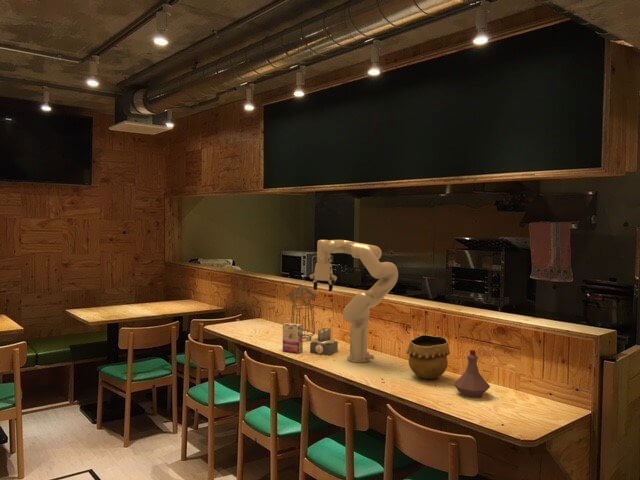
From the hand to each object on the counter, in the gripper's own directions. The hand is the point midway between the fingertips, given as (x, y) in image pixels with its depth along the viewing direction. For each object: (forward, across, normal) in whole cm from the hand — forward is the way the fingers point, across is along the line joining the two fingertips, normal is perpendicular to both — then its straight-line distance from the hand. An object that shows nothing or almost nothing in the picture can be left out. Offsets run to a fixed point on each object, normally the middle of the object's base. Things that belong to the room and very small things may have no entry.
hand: (322, 290), depth 307 cm
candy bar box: (+36, +15, +8) cm, 40 cm away
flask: (+36, -92, +32) cm, 104 cm away
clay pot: (+36, -68, +18) cm, 79 cm away
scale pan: (+30, -1, -1) cm, 30 cm away
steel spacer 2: (+29, -1, -4) cm, 29 cm away
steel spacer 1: (+29, -1, +2) cm, 29 cm away
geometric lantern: (+36, +25, -21) cm, 49 cm away
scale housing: (+36, -1, -1) cm, 36 cm away
